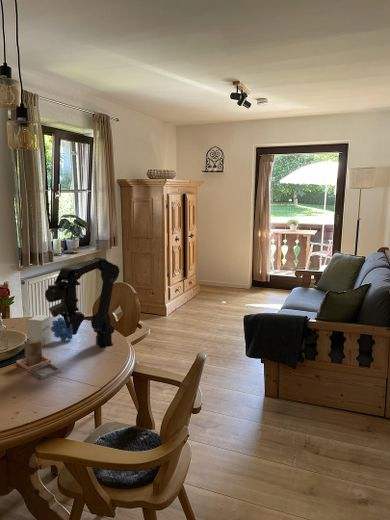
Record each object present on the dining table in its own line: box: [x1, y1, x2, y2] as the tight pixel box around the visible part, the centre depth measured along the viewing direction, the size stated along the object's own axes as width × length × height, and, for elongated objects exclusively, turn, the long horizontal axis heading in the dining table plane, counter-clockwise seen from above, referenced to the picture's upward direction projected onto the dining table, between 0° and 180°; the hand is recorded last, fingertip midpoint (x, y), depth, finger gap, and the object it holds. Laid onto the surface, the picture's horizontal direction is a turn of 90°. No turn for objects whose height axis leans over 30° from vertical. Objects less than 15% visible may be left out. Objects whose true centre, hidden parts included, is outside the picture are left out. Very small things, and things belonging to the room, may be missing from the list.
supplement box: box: [27, 314, 51, 346], centre depth 189 cm, size 7×7×13 cm
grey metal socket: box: [29, 362, 62, 380], centre depth 159 cm, size 9×9×1 cm
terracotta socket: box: [16, 354, 52, 372], centre depth 167 cm, size 10×10×1 cm
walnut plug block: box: [23, 338, 43, 367], centre depth 166 cm, size 5×5×10 cm
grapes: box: [50, 317, 74, 341], centre depth 190 cm, size 12×7×12 cm, turn 105°
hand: (71, 331), depth 169 cm, fingers open, 9 cm apart
